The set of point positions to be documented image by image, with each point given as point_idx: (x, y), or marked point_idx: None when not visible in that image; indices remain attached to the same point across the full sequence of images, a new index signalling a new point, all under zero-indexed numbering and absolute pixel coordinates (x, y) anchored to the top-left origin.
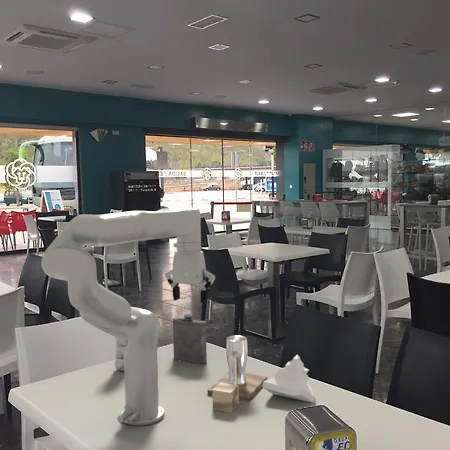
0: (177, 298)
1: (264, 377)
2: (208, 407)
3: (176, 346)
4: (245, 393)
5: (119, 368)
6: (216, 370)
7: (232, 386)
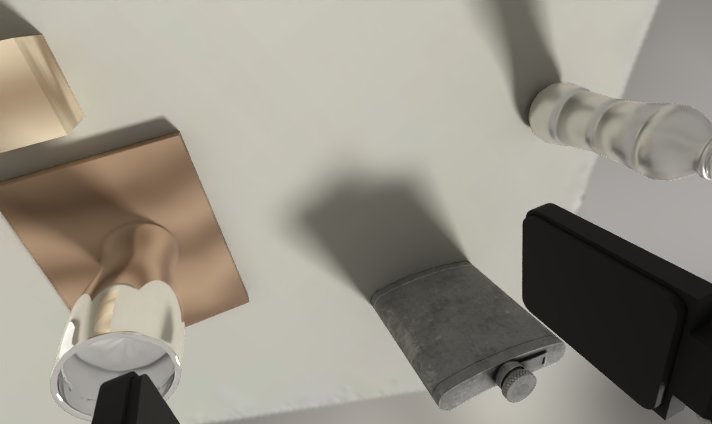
0: (532, 262)
1: None
2: (71, 36)
3: (482, 285)
4: (25, 204)
5: (553, 84)
6: (308, 289)
7: None
